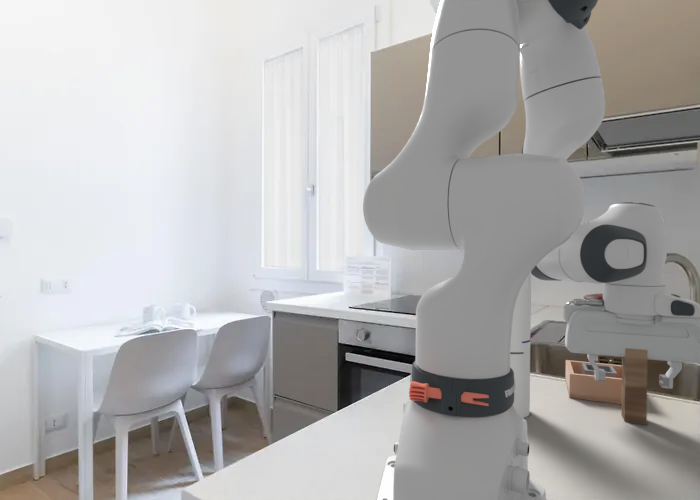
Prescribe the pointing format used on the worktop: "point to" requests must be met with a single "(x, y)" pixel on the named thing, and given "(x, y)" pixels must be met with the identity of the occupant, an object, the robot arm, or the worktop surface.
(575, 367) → the pink planter box
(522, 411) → the cylindrical container
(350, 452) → the worktop surface
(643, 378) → the tall wooden post
